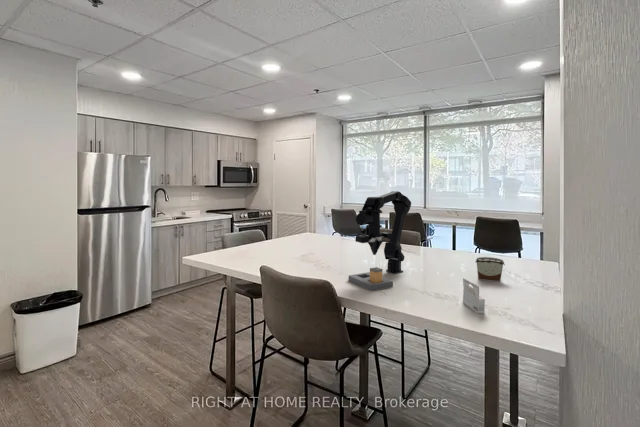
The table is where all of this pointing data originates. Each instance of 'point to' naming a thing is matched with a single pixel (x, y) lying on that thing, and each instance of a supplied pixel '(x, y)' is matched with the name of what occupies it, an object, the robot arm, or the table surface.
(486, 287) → the table surface
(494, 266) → the food container
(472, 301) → the ink cartridge box
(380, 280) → the plug
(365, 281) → the socket plate
